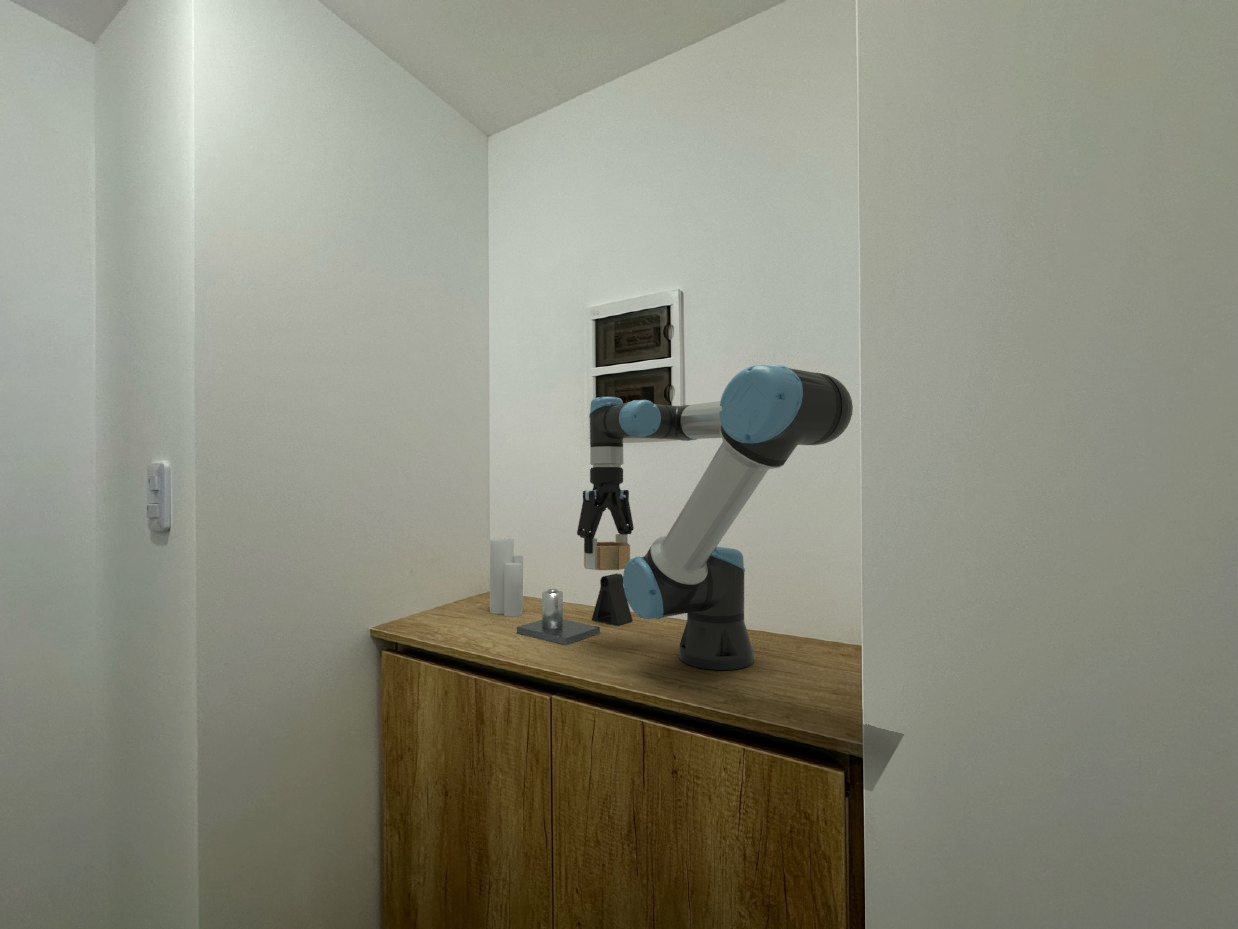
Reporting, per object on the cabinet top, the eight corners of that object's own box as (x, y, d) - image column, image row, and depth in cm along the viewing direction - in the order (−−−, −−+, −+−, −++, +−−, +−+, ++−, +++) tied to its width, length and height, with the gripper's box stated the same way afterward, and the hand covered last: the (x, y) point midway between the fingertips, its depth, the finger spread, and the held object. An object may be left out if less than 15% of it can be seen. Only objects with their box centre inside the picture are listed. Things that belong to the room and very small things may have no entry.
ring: (637, 565, 126) (637, 543, 126) (610, 571, 118) (610, 548, 118) (603, 561, 132) (603, 540, 132) (575, 567, 124) (575, 544, 124)
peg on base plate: (599, 633, 134) (599, 591, 134) (565, 645, 124) (565, 599, 124) (552, 623, 143) (552, 583, 144) (517, 633, 134) (517, 591, 134)
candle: (484, 612, 155) (484, 540, 156) (503, 607, 161) (503, 538, 162) (513, 617, 149) (514, 542, 150) (532, 612, 155) (532, 540, 156)
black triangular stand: (591, 620, 146) (591, 574, 146) (606, 616, 151) (606, 571, 151) (617, 626, 140) (617, 578, 140) (632, 621, 145) (632, 575, 145)
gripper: (623, 467, 137) (623, 558, 136) (559, 465, 119) (559, 570, 118) (648, 467, 132) (649, 560, 132) (586, 465, 114) (586, 573, 114)
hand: (606, 565), depth 125 cm, fingers closed on ring, 10 cm apart
